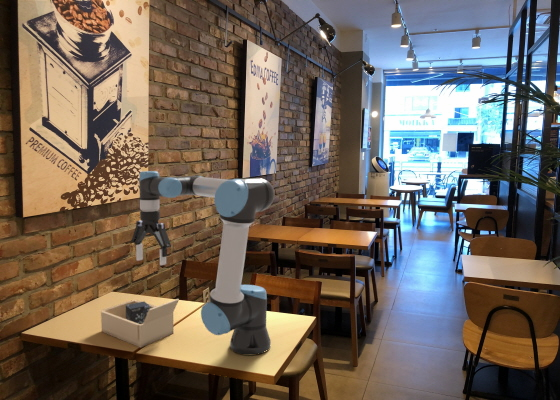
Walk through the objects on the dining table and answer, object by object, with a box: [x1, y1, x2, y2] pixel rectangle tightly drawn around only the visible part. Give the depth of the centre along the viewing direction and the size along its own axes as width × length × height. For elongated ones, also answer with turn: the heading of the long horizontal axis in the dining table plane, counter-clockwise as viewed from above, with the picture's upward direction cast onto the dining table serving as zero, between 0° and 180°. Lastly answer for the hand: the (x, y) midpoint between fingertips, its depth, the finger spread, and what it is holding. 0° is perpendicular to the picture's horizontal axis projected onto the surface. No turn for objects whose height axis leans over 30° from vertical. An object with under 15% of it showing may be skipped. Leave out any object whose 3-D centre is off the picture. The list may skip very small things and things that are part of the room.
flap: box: [144, 298, 180, 324], centre depth 168 cm, size 1×14×7 cm, turn 147°
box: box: [126, 300, 149, 325], centre depth 176 cm, size 8×6×11 cm
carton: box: [100, 299, 175, 348], centre depth 177 cm, size 25×17×9 cm
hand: (151, 262), depth 178 cm, fingers open, 13 cm apart
